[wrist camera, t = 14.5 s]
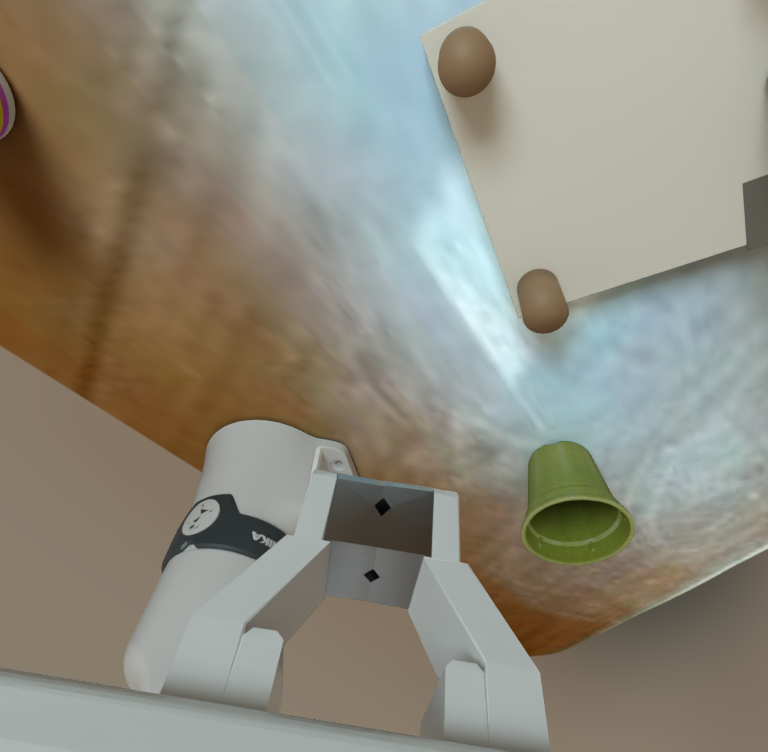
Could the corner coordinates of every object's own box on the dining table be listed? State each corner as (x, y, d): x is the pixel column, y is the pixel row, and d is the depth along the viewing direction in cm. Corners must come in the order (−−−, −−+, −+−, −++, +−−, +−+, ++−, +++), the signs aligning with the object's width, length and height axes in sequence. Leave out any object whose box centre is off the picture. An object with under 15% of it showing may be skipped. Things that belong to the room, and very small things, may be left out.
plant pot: (540, 414, 49) (555, 485, 42) (629, 444, 50) (658, 517, 43) (496, 477, 54) (502, 548, 48) (577, 502, 56) (595, 576, 49)
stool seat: (809, 210, 36) (870, 247, 31) (516, 306, 42) (526, 350, 37) (809, -173, 25) (901, -214, 20) (421, 33, 32) (416, 42, 27)
